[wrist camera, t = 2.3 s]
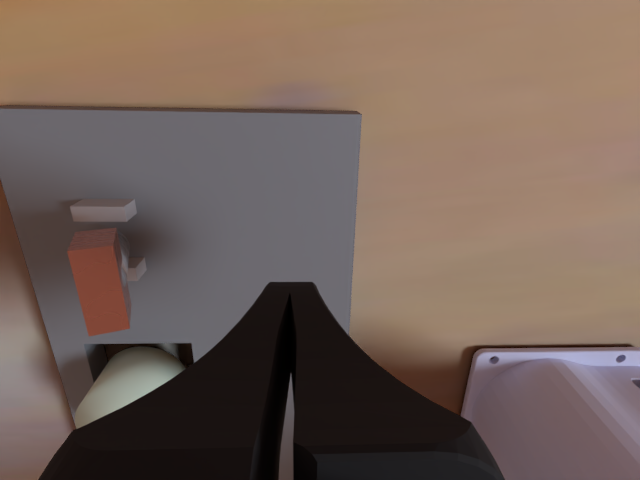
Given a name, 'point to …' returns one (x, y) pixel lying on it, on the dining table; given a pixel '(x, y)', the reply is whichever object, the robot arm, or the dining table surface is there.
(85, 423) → the sage button
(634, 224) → the dining table surface
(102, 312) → the toggle lever
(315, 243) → the panel
